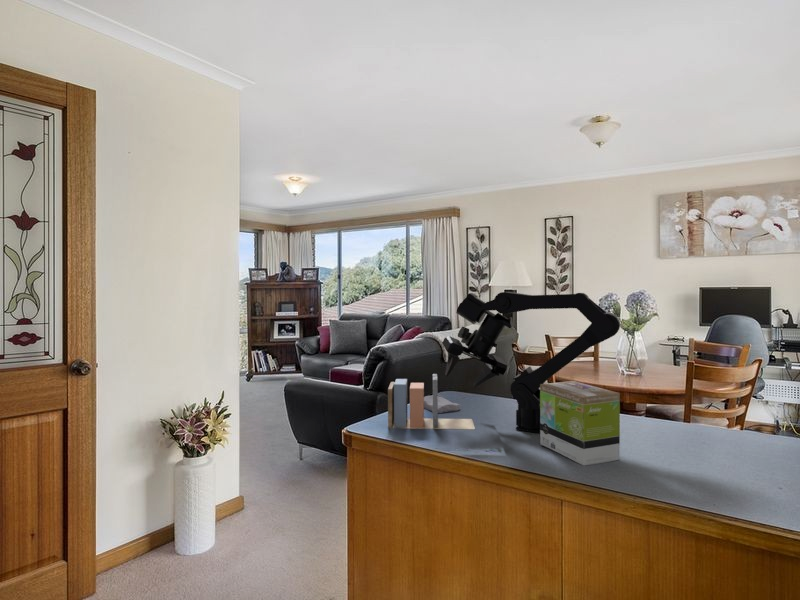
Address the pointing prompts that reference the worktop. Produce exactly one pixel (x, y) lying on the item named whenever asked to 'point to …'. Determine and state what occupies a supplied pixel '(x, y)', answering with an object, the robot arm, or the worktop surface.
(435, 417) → the grey flat rectangular panel
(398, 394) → the book
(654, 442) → the worktop surface
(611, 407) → the tea box
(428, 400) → the stone block
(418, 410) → the book
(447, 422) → the wooden book rack
